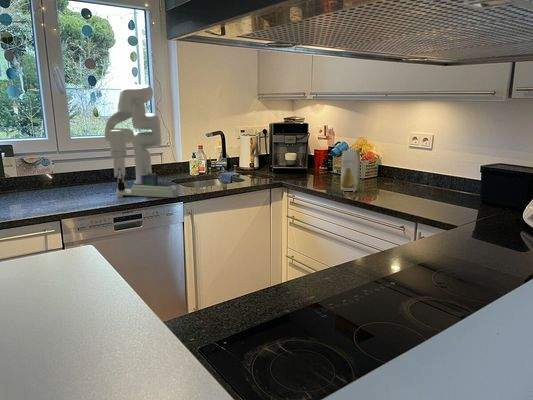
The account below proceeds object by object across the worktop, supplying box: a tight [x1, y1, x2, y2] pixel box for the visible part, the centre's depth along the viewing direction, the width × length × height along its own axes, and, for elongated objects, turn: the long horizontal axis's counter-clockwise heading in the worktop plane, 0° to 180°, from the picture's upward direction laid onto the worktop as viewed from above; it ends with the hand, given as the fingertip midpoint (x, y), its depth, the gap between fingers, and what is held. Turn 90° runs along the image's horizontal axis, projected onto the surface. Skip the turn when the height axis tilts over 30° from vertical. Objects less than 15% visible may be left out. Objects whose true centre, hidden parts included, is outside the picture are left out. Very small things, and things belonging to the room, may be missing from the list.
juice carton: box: [340, 147, 361, 193], centre depth 227 cm, size 9×8×24 cm
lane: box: [115, 184, 178, 199], centre depth 215 cm, size 11×30×6 cm, turn 106°
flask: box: [140, 171, 159, 186], centre depth 233 cm, size 9×3×11 cm, turn 109°
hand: (121, 189), depth 212 cm, fingers closed on ball, 3 cm apart
